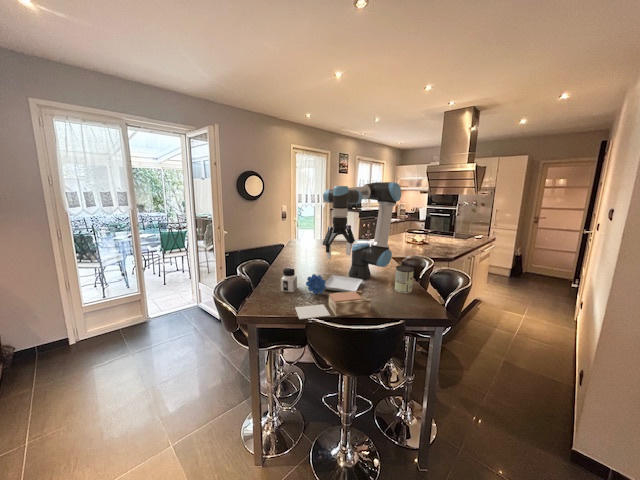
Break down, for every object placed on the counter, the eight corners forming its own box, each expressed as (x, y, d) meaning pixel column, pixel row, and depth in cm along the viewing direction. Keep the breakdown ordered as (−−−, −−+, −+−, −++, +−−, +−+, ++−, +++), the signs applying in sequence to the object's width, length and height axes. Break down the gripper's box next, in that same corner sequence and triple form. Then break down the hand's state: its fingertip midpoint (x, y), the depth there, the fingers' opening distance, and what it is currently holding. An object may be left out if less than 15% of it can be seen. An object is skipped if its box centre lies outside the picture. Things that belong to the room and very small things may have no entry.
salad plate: (355, 296, 149) (356, 290, 148) (320, 291, 156) (320, 285, 156) (363, 284, 169) (363, 278, 168) (331, 279, 176) (331, 274, 175)
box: (360, 302, 141) (361, 290, 140) (370, 312, 130) (371, 299, 128) (328, 305, 136) (328, 293, 135) (335, 316, 125) (336, 303, 124)
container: (293, 292, 152) (293, 271, 150) (280, 291, 154) (280, 270, 151) (297, 287, 160) (297, 267, 157) (285, 286, 161) (284, 266, 159)
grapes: (306, 297, 146) (306, 277, 143) (305, 292, 152) (305, 273, 150) (327, 296, 148) (327, 276, 145) (325, 291, 154) (325, 272, 152)
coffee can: (395, 285, 165) (397, 264, 162) (412, 288, 161) (414, 266, 158) (392, 291, 156) (394, 268, 153) (411, 294, 152) (413, 271, 149)
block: (355, 295, 137) (355, 291, 137) (361, 302, 129) (362, 298, 129) (329, 297, 134) (329, 294, 133) (335, 305, 126) (335, 301, 125)
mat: (323, 305, 137) (323, 304, 137) (330, 315, 125) (330, 315, 125) (295, 308, 133) (295, 307, 133) (299, 319, 122) (299, 318, 122)
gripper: (352, 214, 144) (351, 252, 148) (316, 217, 130) (315, 258, 134) (362, 216, 138) (360, 254, 143) (325, 218, 124) (324, 261, 128)
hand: (338, 256), depth 138 cm, fingers open, 13 cm apart
